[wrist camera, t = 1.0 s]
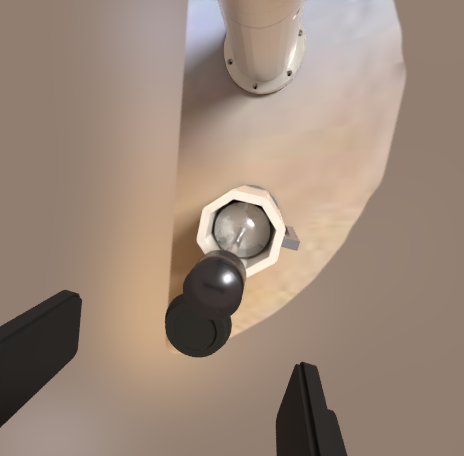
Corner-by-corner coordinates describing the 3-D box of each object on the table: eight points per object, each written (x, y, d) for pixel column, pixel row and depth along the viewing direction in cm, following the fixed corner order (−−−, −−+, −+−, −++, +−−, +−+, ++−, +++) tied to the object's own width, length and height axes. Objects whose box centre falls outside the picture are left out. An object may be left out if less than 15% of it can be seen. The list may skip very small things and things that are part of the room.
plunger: (222, 196, 32) (165, 220, 14) (276, 209, 31) (287, 252, 14) (210, 247, 34) (147, 327, 16) (262, 261, 33) (255, 360, 15)
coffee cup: (185, 294, 50) (151, 343, 35) (202, 252, 48) (173, 285, 33) (229, 315, 49) (214, 372, 35) (249, 273, 47) (240, 316, 33)
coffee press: (227, 179, 44) (205, 180, 29) (297, 195, 43) (314, 206, 27) (215, 235, 46) (189, 264, 31) (281, 252, 45) (288, 291, 30)
